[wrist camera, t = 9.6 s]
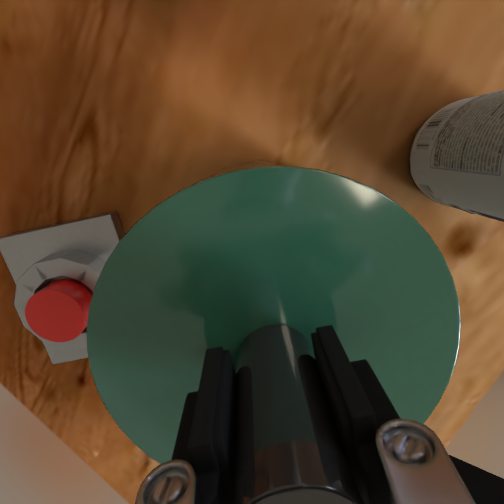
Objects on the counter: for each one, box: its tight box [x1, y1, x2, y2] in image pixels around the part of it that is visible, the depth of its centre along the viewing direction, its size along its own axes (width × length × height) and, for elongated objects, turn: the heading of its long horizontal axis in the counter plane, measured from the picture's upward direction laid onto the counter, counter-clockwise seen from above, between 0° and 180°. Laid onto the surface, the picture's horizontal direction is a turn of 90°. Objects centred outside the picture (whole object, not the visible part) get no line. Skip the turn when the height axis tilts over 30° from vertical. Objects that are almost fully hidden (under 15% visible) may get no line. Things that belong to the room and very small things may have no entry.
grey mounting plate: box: [0, 211, 125, 364], centre depth 23 cm, size 10×8×3 cm
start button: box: [25, 279, 92, 342], centre depth 21 cm, size 4×4×2 cm
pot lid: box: [87, 166, 461, 504], centre depth 10 cm, size 14×14×7 cm
